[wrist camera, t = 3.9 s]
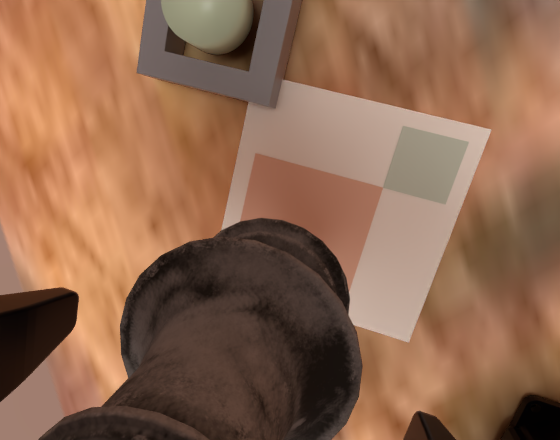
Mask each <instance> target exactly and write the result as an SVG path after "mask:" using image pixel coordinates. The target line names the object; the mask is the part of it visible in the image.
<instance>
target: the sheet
mask: <svg viewBox="0 0 560 440" xmlns="http://www.w3.org/2000/svg"><path fill="white" fill-rule="evenodd" d="M490 133H491V129H487V128H483V127H479V126H475V125H471V124H466V123H462V122H458V121H454V120H450V119H446V118H441V117H437V116H433V115H429V114H425V113H421V112H417V111H412V110H408V109H404V108H400V107H396V106H392V105H387V104H383V103H379V102H375V101H371V100H367V99H363V98H358V97H354V96H350V95H346V94H342V93H338V92H333V91H329V90H325V89H321V88H317V87H313V86H309V85H304V84H300V83H296V82H292V81H288V80H284V79H282V83H281V87H280V92H279V96H278V100H277V105H276V109H274V108H270V107H266V106H262V105H258V104H254V103H250V102H249V103H248V107H247V112H246V117H245V121H244V126H243V131H242V135H241V140H240V145H239V149H238V154H237V159H236V163H235V168H234V173H233V178H232V182H231V187H230V192H229V196H228V201H227V206H226V210H225V215H224V220H223V224H222V229H221V230H223V229H225V228H227V227H229V226H232V225H234V224H236V223H238V222H240V221H245V220H251V219H257V218H268V219H278V220H284V221H287V222H289V223H292V224H295V225H298V226H300V227H303V228H305V229H306V230H308V231H309V232H310V233H312V234H313V235H315V236H316V237H318V238H319V239H321V240H322V241H323V242H324V243H325V244H326V246H327V247H328V248H329V249H330V250H331V251H332V253H333V254H334V255H335V256H336V257H337V259H338V261H339V263H340V265H341V267H342V269H343V272H344V274H345V276H346V278H347V284H348V290H349V295H350V304H349V313H348V315H349V317H350V319H351V321H352V323H353V325H355V326H358V327H361V328H364V329H368V330H371V331H374V332H377V333H380V334H383V335H386V336H389V337H393V338H396V339H399V340H402V341H405V342H408V343H409V341H410V338H411V335H412V333H413V330H414V328H415V325H416V323H417V320H418V317H419V315H420V312H421V310H422V307H423V305H424V302H425V299H426V297H427V294H428V292H429V289H430V287H431V284H432V281H433V279H434V276H435V274H436V271H437V269H438V266H439V264H440V261H441V258H442V256H443V253H444V251H445V248H446V246H447V243H448V240H449V238H450V235H451V233H452V230H453V228H454V225H455V222H456V220H457V217H458V215H459V212H460V210H461V207H462V204H463V202H464V199H465V197H466V194H467V192H468V189H469V186H470V184H471V181H472V179H473V176H474V174H475V171H476V168H477V166H478V163H479V161H480V158H481V156H482V153H483V151H484V148H485V145H486V143H487V140H488V138H489V135H490Z"/></svg>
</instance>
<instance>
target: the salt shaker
mask: <svg viewBox="0 0 560 440" xmlns="http://www.w3.org/2000/svg"><path fill="white" fill-rule="evenodd" d="M349 304H350V295H349V290H348V284H347V278H346V276H345V274H344V272H343V269H342V267H341V265H340V263H339V261H338V259H337V257H336V256H335V255H334V254H333V253H332V251H331V250H330V249H329V248H328V247H327V246H326V244H325V243H324V242H323V241H322V240H321V239H319V238H318V237H316V236H315V235H313V234H312V233H310V232H309V231H308V230H306V229H305V228H303V227H300V226H298V225H295V224H292V223H289V222H287V221H284V220H278V219H268V218H257V219H251V220H245V221H240V222H238V223H236V224H234V225H232V226H229V227H227V228H225V229H223V230H221V231H220V232H219V233H218V234H217V235H216V236H215V237H213V238H209V239H203V240H197V241H190V242H188V243H186V244H184V245H182V246H180V247H178V248H175V249H173V250H171V251H169V252H167V253H165V254H163V255H161V256H160V257H159V258H158V259H157V260H156V261H155V262H154V263H152V264H151V265H150V266H149V267H148V268H147V269H146V270H145V271H144V272H143V273H142V274H141V275H140V276H139V278H138V279H137V281H136V283H135V284H134V286H133V288H132V290H131V291H130V293H129V295H128V297H127V298H126V302H125V306H124V311H123V315H122V319H121V324H120V337H121V355H122V358H123V362H124V365H125V368H126V372H127V375H128V379H127V380H126V381H125V382H124V383H123V385H122V386H121V387H120V388H119V389H118V390H117V391H116V392H115V393H114V394H113V395H112V396H111V397H110V398H109V399H108V400H107V401H106V402H105V404H104V405H103V406H102V407H91V408H89V409H86V410H83V411H80V412H77V413H75V414H72V415H69V416H66V417H64V418H63V419H62V420H61V421H59V422H58V423H57V424H56V425H54V426H53V427H52V428H51V429H50V430H48V431H47V432H46V433H45V434H44V435H43V436H42V437H40V438H39V440H331V439H332V438H333V437H334V436H335V435H336V434H337V433H338V432H339V431H340V430H341V429H342V428H343V427H344V426H345V424H346V423H347V421H348V419H349V417H350V415H351V412H352V410H353V408H354V406H355V404H356V402H357V400H358V397H359V390H360V382H361V374H362V359H361V354H360V348H359V342H358V337H357V332H356V330H355V327H354V325H353V323H352V321H351V319H350V317H349V315H348V313H349Z"/></svg>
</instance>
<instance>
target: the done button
mask: <svg viewBox="0 0 560 440" xmlns="http://www.w3.org/2000/svg"><path fill="white" fill-rule="evenodd" d="M161 6H162V11H163V14H164V17H165V20H166V22H167V24H168V25H169V27H170V28H171V30H172V31H173V32H174V33H175V34H176V35H177V36H178V37H180V38H181V39H183V40H184V41H186V42H188V43H189V44H191V45H193V46H195V47H196V48H198V49H200V50H201V51H203V52H205V53H209V54H213V55H220V54H226V53H229V52H231V51H233V50H234V49H236V48H237V47H239V46H240V45H241V44H242V43H243V42H244V40H245V39H246V37H247V36H248V34H249V32H250V29H251V27H252V23H253V17H254V8H253V2H252V0H161Z"/></svg>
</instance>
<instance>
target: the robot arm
mask: <svg viewBox="0 0 560 440" xmlns="http://www.w3.org/2000/svg"><path fill="white" fill-rule="evenodd" d="M78 302H79V296H78V294H77V293H76V292H75V291H72V290H69V289H66V288H62V287H61V288H52V289H45V290H37V291H29V292H22V293H14V294H6V295H0V402H1V401H2V400H3V399H4V398H6V397H7V396H8V395H9V394H10V393H11V392H12V391H13V390H15V389H16V388H17V387H18V386H19V385H20V384H21V383H22V382H23V381H24V380H25V379H26V378H27V377H28V376H29V375H30V374H31V373H32V372H33V371H34V370H35V369H36V368H37V367H38V366H39V365H40V364H41V363H42V362H43V361H44V360H45V359H46V358H47V357H48V356H49V355H50V353H51V352H52V351H53V350H54V349H55V348H56V347H57V346H58V345H59V344H60V343H61V342H62V341H63V340H64V339H65V338H66V337H67V336H68V335H69V334H70V332H71V331H72V330H73V328H74V326H75V324H76V319H77V310H78ZM534 404H537V405H536V406H535V407H531V406H532V405H534ZM403 440H456V439H455V438H454V437H453V436H452V434H451V433H450V432H449V431H448V430H447V428H446V427H445V426H444V425H443V424H442V423H441V421H440V420H439V419H438V418H437V417H435V416H433V415H430V414H427V413H424V412H421V411H417V412H416V413H415V414H414V415H413V418H412V420H411V422H410V425H409V427H408V430H407V432H406V434H405V437H404V439H403ZM501 440H560V403H557V402H554V401H551V400H548V399H544V398H541V397H538V396H534V395H530V396H527V397H525V398H524V399H523V401H522V403H521V405H520V407H519V409H518V410H517V412H516V414H515V416H514V418H513V420H512V422H511V424H510V426H509V427H508V428H507V429H506V431H505V433H504V435H503V437H502V439H501Z"/></svg>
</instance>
